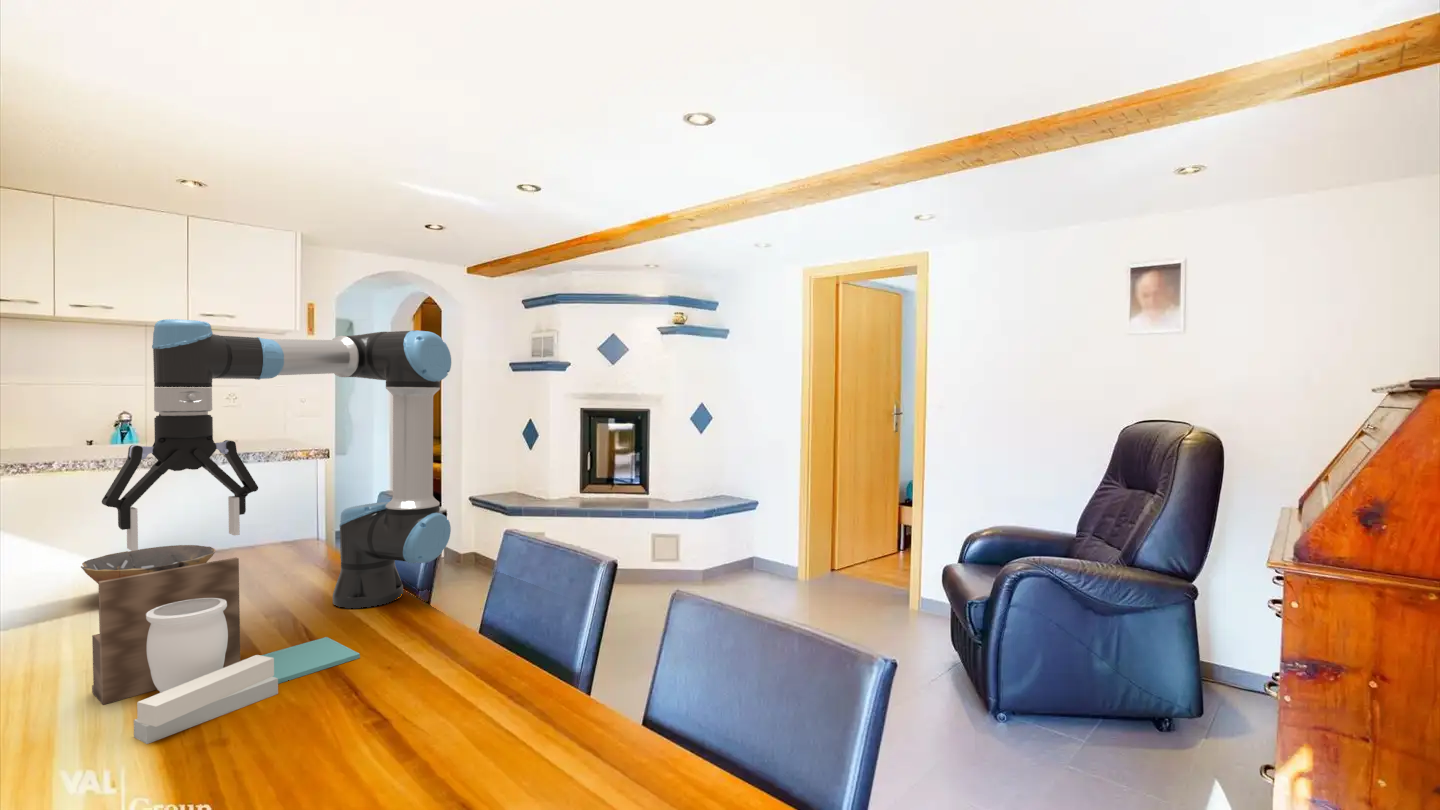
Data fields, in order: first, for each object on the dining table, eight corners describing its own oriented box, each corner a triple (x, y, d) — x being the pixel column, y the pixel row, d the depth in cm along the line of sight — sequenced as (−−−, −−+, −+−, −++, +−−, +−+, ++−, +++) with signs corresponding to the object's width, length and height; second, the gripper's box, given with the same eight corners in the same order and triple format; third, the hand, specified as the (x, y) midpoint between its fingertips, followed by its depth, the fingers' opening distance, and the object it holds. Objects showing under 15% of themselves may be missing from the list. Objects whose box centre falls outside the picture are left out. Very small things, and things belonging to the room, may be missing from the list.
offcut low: (264, 690, 114) (264, 673, 114) (278, 695, 112) (277, 678, 112) (134, 739, 98) (133, 719, 98) (146, 746, 96) (146, 726, 96)
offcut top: (256, 671, 115) (256, 654, 115) (274, 675, 113) (273, 657, 113) (137, 722, 98) (137, 702, 97) (156, 726, 96) (155, 706, 96)
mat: (326, 640, 135) (326, 636, 135) (359, 657, 127) (359, 653, 127) (246, 663, 124) (246, 659, 124) (277, 684, 116) (277, 679, 116)
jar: (138, 716, 104) (136, 621, 104) (157, 689, 114) (156, 602, 113) (222, 701, 109) (220, 611, 109) (233, 677, 118) (232, 593, 118)
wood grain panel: (226, 656, 127) (224, 552, 127) (240, 665, 123) (238, 558, 123) (92, 692, 112) (89, 575, 112) (102, 704, 108) (100, 582, 107)
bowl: (233, 591, 166) (232, 552, 166) (102, 621, 146) (101, 575, 145) (191, 575, 180) (190, 539, 180) (66, 600, 159) (65, 559, 159)
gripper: (86, 416, 98) (89, 560, 98) (278, 412, 118) (279, 531, 118) (75, 415, 102) (77, 552, 103) (261, 411, 122) (263, 525, 123)
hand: (185, 541), depth 111 cm, fingers open, 13 cm apart
